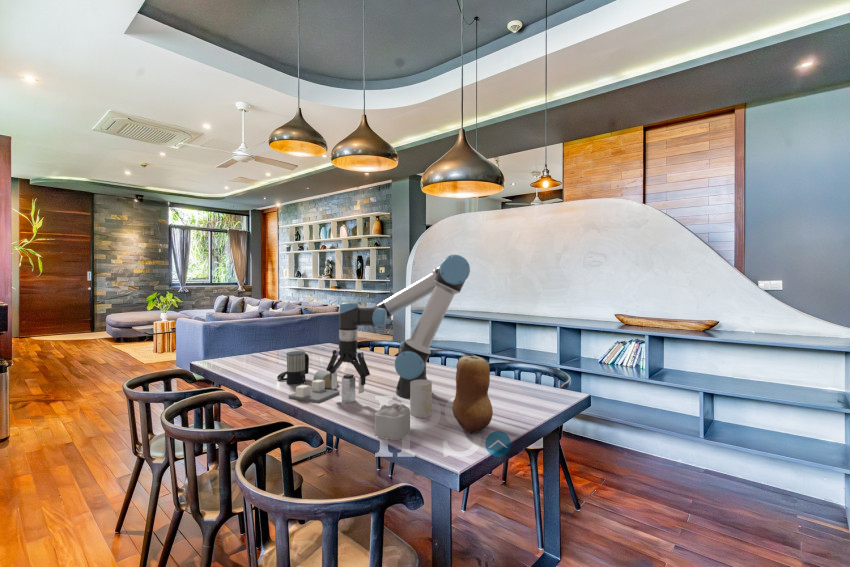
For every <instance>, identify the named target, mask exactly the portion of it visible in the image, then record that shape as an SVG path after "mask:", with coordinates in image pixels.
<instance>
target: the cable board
mask: <svg viewBox="0 0 850 567" xmlns="http://www.w3.org/2000/svg"><path fill="white" fill-rule="evenodd" d="M335 395H336V396H339V395H340V391H339V390H334V389H325V380H315V381H314V380H312V381H311V387H310V385H306V384H299V385H298V386H297V385H296V387H295V392H294V393H291V394H288V398H289V399H292V398H295V399H294V400H298V399H300V400H299V401H304V400H307V401H306V402H310V401H311V402H312V403H316V402H317V403H318V404H320V403H321V402H324V401H326V400H329V399H331V398H333V396H334V397H336V396H335Z"/></svg>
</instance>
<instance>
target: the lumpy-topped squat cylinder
mask: <svg viewBox="0 0 850 567" xmlns="http://www.w3.org/2000/svg"><path fill="white" fill-rule="evenodd" d="M409 434H411V414H410V407H408V406H407V405H405V404H399V403H392V404H391V405H387V404H383V405H382V406H380V409H379V410H377V411H376V412H375V414H374V436H375V435H376V436H378V437H383V438H382V439H385V438H387V439H386V440H389V439H390V440H389V441H399V440H402V439H403V438H405V437H407V436H408V435H409ZM376 436H375V437H376ZM378 437H377V438H378Z"/></svg>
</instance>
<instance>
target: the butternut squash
mask: <svg viewBox="0 0 850 567" xmlns="http://www.w3.org/2000/svg"><path fill="white" fill-rule="evenodd" d="M490 370H491V369H490V364H489V362H488V361H487V360H486V359H485V358H484V357H481V356H477V355H473V356H472V355H471V356H470V355H464V356H461V357H460V358H459V359H458V362H457V363H456V373H455V396H454V400H453V402H452V413H453V416H454V418H455V419H456V420H455V421H457V423H458V424H459V426H460V427H461V428H462V429H463V430H464V431H465V432H467V433H469V434H474V433H479V432H482V431H483V430H484V429H486V428H487V427H488V426H489V425H490V423H491V421H492V419H493V416H494V414H493V411H494V410H493V405H492V403H491V400H490V397H489V394H488V392H489V388H490V380H491V379H490V378H491V377H490V376H491V375H490V374H491V371H490Z"/></svg>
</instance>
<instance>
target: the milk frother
mask: <svg viewBox="0 0 850 567" xmlns="http://www.w3.org/2000/svg"><path fill="white" fill-rule="evenodd" d="M285 354H286V371H284V372H281V373H279V374H277V376H276V379H277V380H278V381H281V380H285V381H286V384H287V385H290V384H298V385H302V384H301V383H303V384H305V383H306V382H307V380H306V375H308V374H309V368H310V367H309V366H310V356H309V354H308V353H306V351H303V350H295V351H294V350H293V351H287V352H286V353H285ZM285 376H286V377H285ZM304 382H305V383H304Z"/></svg>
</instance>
